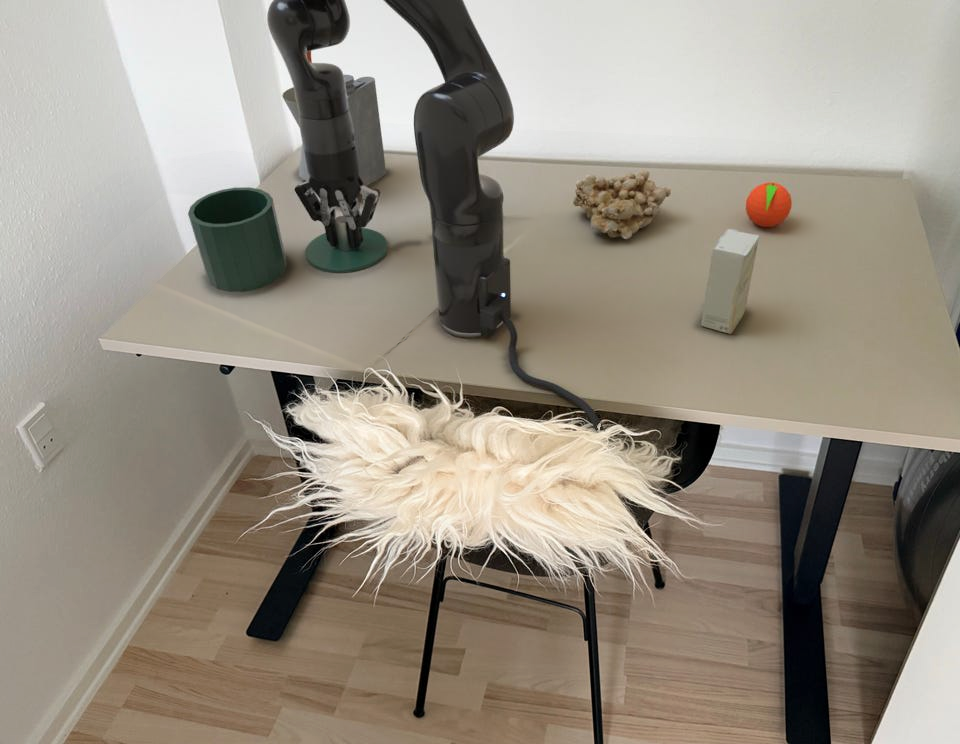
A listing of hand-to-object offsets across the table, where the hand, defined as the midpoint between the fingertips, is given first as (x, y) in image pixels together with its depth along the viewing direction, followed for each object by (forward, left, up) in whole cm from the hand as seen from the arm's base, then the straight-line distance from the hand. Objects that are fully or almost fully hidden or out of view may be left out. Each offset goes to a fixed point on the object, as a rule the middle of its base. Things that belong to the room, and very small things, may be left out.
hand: (346, 245), depth 126 cm
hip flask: (+13, -19, -2) cm, 23 cm away
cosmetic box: (-57, -12, -2) cm, 58 cm away
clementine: (-54, -40, -2) cm, 67 cm away
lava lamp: (+24, -21, -2) cm, 32 cm away
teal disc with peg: (0, 0, -1) cm, 1 cm away
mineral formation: (-34, -30, -2) cm, 45 cm away
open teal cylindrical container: (+10, +12, -2) cm, 16 cm away
